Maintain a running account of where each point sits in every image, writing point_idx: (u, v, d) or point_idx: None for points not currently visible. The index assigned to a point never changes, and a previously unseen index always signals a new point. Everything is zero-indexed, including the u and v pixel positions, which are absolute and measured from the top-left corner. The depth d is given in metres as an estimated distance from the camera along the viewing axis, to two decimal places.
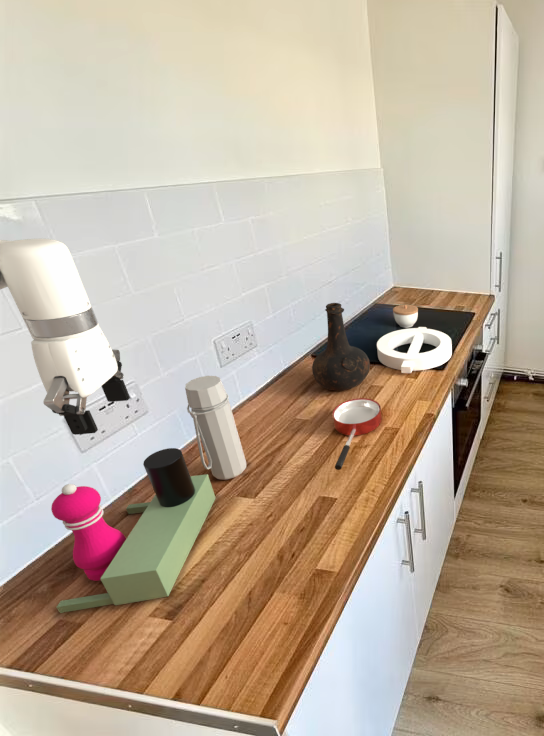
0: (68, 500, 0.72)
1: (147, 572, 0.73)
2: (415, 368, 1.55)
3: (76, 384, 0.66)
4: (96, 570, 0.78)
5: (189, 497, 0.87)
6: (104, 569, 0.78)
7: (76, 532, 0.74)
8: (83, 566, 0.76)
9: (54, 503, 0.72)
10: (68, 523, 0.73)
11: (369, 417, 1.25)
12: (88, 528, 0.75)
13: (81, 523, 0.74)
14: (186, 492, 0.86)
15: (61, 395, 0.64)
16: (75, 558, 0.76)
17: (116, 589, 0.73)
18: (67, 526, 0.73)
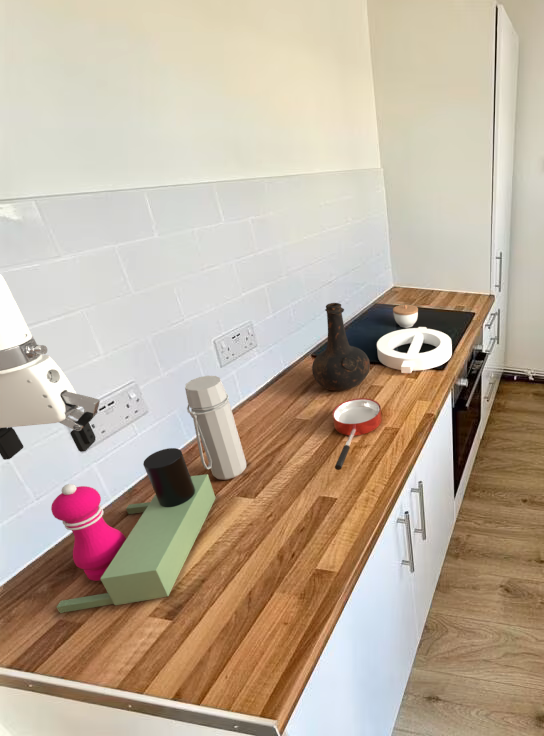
0: (68, 500, 0.72)
1: (147, 572, 0.73)
2: (415, 368, 1.55)
3: None
4: (96, 570, 0.78)
5: (189, 497, 0.87)
6: (104, 569, 0.78)
7: (76, 532, 0.74)
8: (83, 566, 0.76)
9: (54, 503, 0.72)
10: (68, 523, 0.73)
11: (369, 417, 1.25)
12: (88, 528, 0.75)
13: (81, 523, 0.74)
14: (186, 492, 0.86)
15: None
16: (75, 558, 0.76)
17: (116, 589, 0.73)
18: (67, 526, 0.73)
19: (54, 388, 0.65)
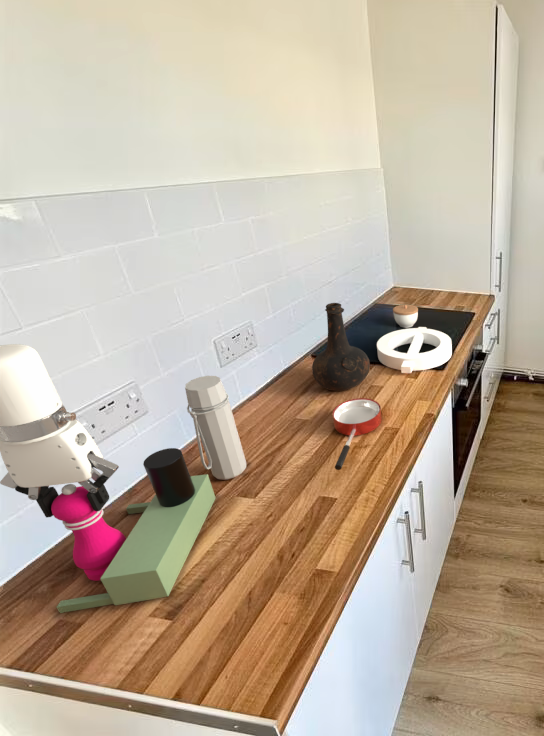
0: (68, 500, 0.72)
1: (147, 572, 0.73)
2: (415, 368, 1.55)
3: None
4: (96, 570, 0.78)
5: (189, 497, 0.87)
6: (104, 569, 0.78)
7: (76, 532, 0.74)
8: (83, 566, 0.76)
9: (54, 503, 0.72)
10: (68, 523, 0.73)
11: (369, 417, 1.25)
12: (88, 528, 0.75)
13: (81, 523, 0.74)
14: (186, 492, 0.86)
15: (11, 479, 0.69)
16: (75, 558, 0.76)
17: (116, 589, 0.73)
18: (67, 526, 0.73)
19: (81, 450, 0.69)
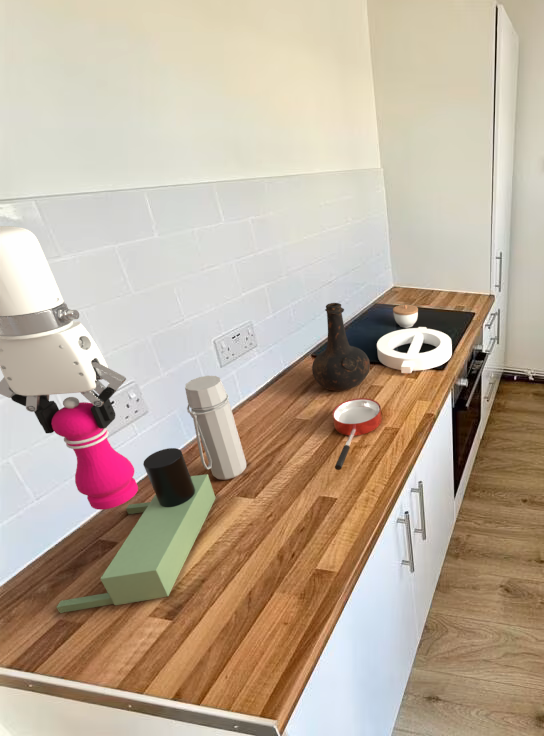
0: (70, 414, 0.65)
1: (147, 572, 0.73)
2: (415, 368, 1.55)
3: None
4: (101, 498, 0.71)
5: (189, 497, 0.87)
6: (109, 497, 0.71)
7: (79, 452, 0.67)
8: (86, 491, 0.69)
9: (54, 416, 0.65)
10: (70, 441, 0.66)
11: (369, 417, 1.25)
12: (92, 448, 0.68)
13: (84, 441, 0.67)
14: (186, 492, 0.86)
15: (7, 386, 0.62)
16: (78, 482, 0.69)
17: (116, 589, 0.73)
18: (69, 444, 0.66)
19: (85, 355, 0.63)
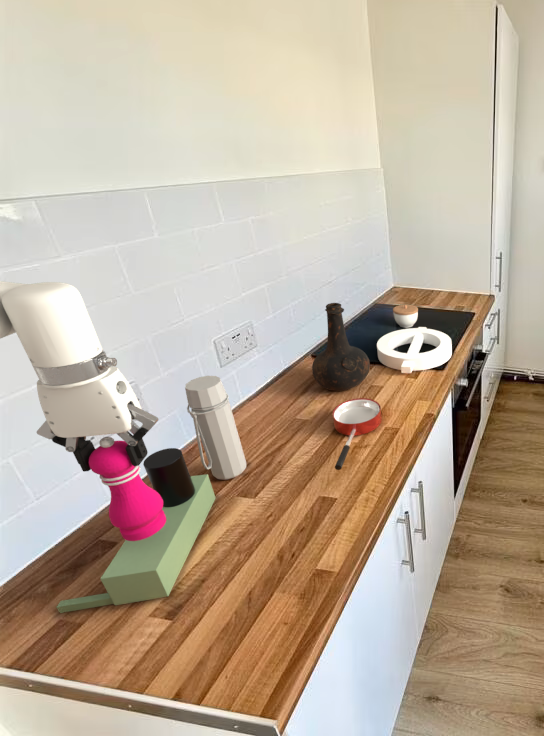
0: (106, 453, 0.68)
1: (147, 572, 0.73)
2: (415, 368, 1.55)
3: None
4: (132, 530, 0.74)
5: (189, 497, 0.87)
6: (141, 529, 0.75)
7: (114, 488, 0.71)
8: (120, 525, 0.72)
9: (92, 456, 0.68)
10: (105, 478, 0.70)
11: (369, 417, 1.25)
12: (126, 484, 0.71)
13: (119, 478, 0.70)
14: (186, 492, 0.86)
15: (48, 428, 0.66)
16: (111, 516, 0.72)
17: (116, 589, 0.73)
18: (104, 481, 0.70)
19: (122, 399, 0.66)
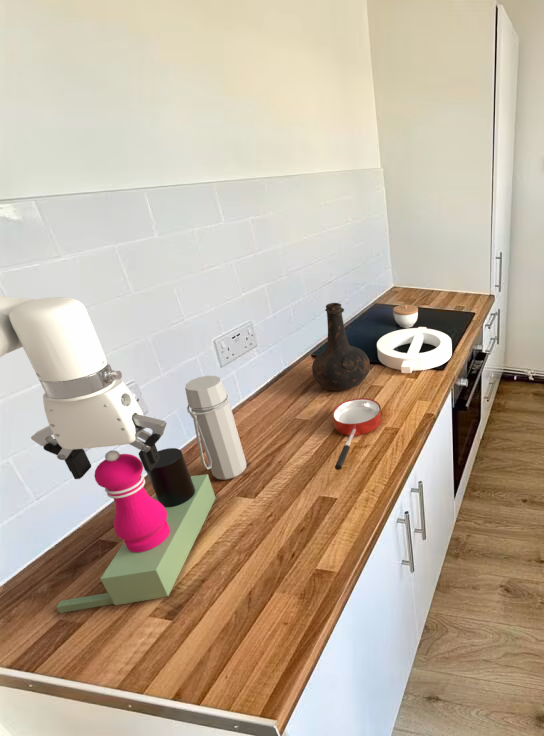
0: (112, 467, 0.70)
1: (147, 572, 0.73)
2: (415, 368, 1.55)
3: None
4: (137, 541, 0.76)
5: (189, 497, 0.87)
6: (145, 540, 0.76)
7: (119, 500, 0.72)
8: (125, 536, 0.74)
9: (97, 470, 0.69)
10: (111, 491, 0.71)
11: (369, 417, 1.25)
12: (131, 496, 0.73)
13: (124, 491, 0.71)
14: (186, 492, 0.86)
15: (45, 436, 0.66)
16: (117, 528, 0.73)
17: (116, 589, 0.73)
18: (110, 494, 0.71)
19: (126, 411, 0.67)
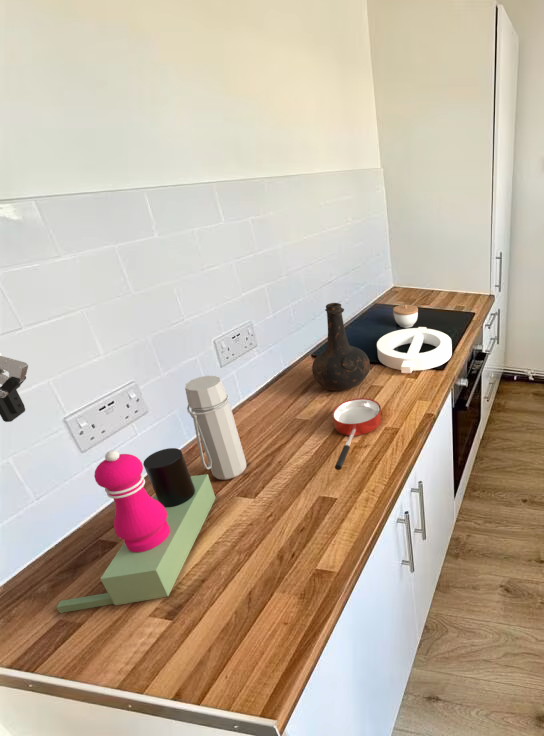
0: (112, 467, 0.70)
1: (147, 572, 0.73)
2: (415, 368, 1.55)
3: None
4: (137, 541, 0.76)
5: (189, 497, 0.87)
6: (145, 540, 0.76)
7: (119, 500, 0.72)
8: (125, 536, 0.74)
9: (97, 470, 0.69)
10: (111, 491, 0.71)
11: (369, 417, 1.25)
12: (131, 496, 0.73)
13: (124, 491, 0.71)
14: (186, 492, 0.86)
15: None
16: (117, 528, 0.73)
17: (116, 589, 0.73)
18: (110, 494, 0.71)
19: None
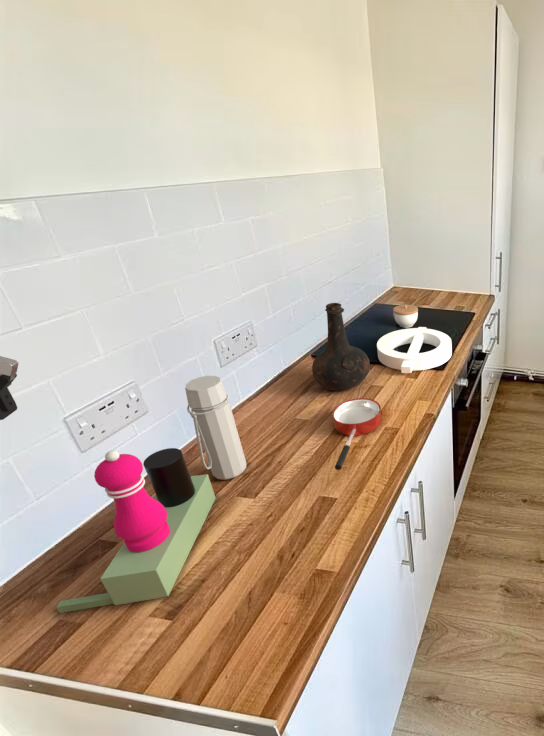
0: (111, 467, 0.70)
1: (147, 572, 0.73)
2: (415, 368, 1.55)
3: None
4: (137, 541, 0.76)
5: (189, 497, 0.87)
6: (145, 540, 0.76)
7: (119, 500, 0.72)
8: (125, 536, 0.74)
9: (97, 470, 0.69)
10: (111, 491, 0.71)
11: (369, 417, 1.25)
12: (131, 496, 0.73)
13: (124, 491, 0.71)
14: (186, 492, 0.86)
15: None
16: (117, 528, 0.73)
17: (116, 589, 0.73)
18: (110, 494, 0.71)
19: None
